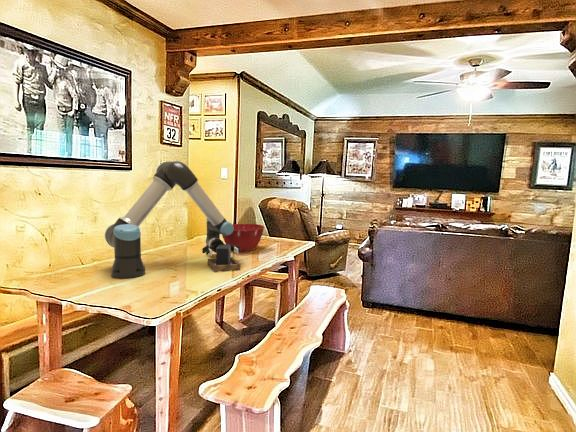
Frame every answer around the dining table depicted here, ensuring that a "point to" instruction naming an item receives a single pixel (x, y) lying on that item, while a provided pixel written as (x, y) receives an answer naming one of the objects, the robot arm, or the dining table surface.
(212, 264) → the walnut tray
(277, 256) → the dining table surface
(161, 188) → the robot arm
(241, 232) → the mixing bowl
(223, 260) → the small box
